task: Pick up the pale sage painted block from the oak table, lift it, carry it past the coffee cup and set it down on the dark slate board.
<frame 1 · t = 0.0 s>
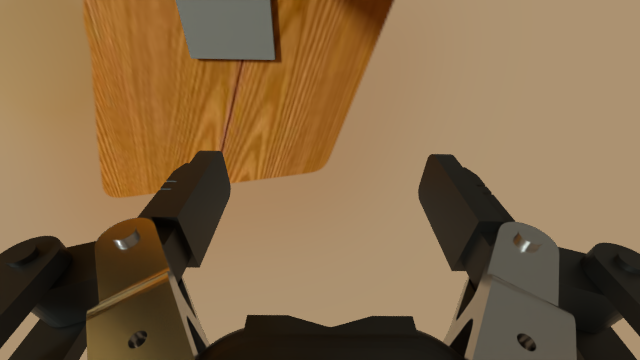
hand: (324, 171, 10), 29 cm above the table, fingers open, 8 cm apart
slate board: (225, 3, 31), on the table
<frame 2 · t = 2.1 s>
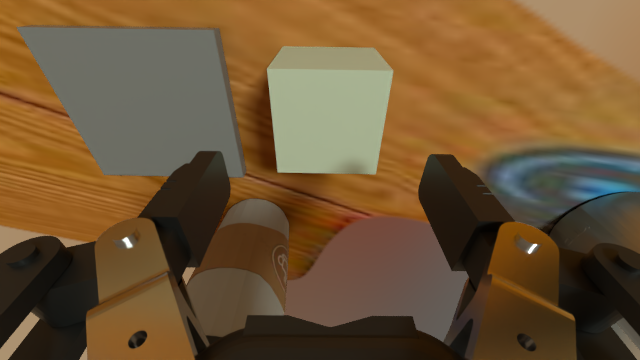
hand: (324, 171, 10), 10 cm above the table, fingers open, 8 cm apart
sage block: (327, 92, 19), on the table
coffee cup: (259, 218, 27), on the table
slate board: (156, 109, 20), on the table
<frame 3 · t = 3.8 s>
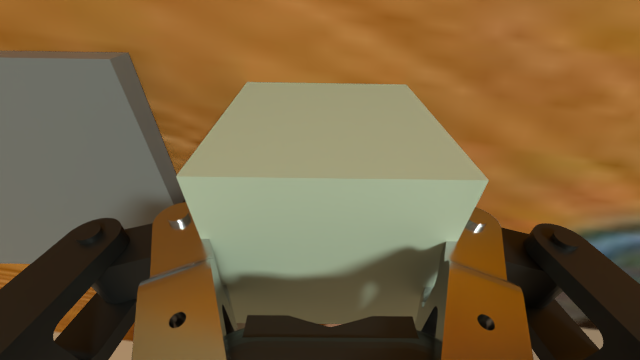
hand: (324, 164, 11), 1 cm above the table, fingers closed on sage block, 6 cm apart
sage block: (324, 152, 12), on the table, touching gripper
slate board: (51, 176, 12), on the table
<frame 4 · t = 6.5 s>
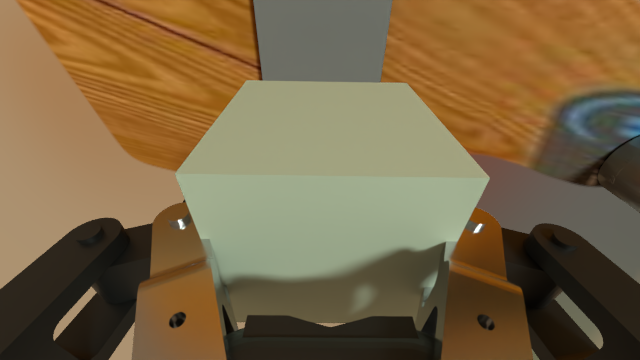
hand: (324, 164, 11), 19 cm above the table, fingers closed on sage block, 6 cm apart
sage block: (324, 150, 12), point 18 cm above the table, touching gripper
slate board: (321, 59, 26), on the table
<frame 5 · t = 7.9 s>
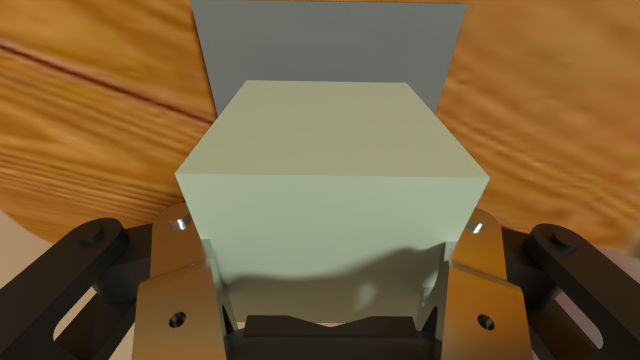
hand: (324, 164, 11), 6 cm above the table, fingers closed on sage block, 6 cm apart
sage block: (324, 150, 12), point 5 cm above the table, touching gripper
slate board: (325, 113, 15), on the table
when the fingers open (4 cm above the table, at t = 9.1 s): sage block drops 2 cm, resting on slate board.
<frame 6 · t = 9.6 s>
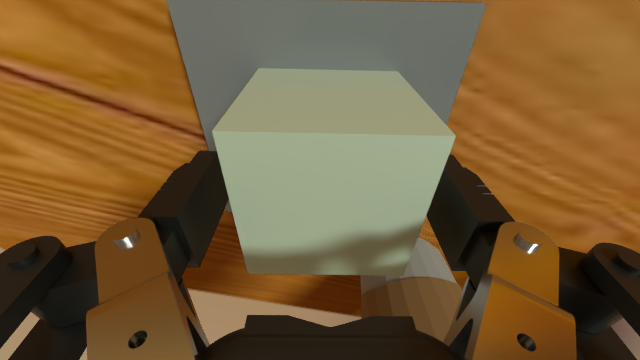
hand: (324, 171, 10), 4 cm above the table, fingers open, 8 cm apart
sage block: (326, 132, 13), point 1 cm above the table, touching slate board
coffee cup: (397, 257, 21), on the table
slate board: (323, 125, 14), on the table
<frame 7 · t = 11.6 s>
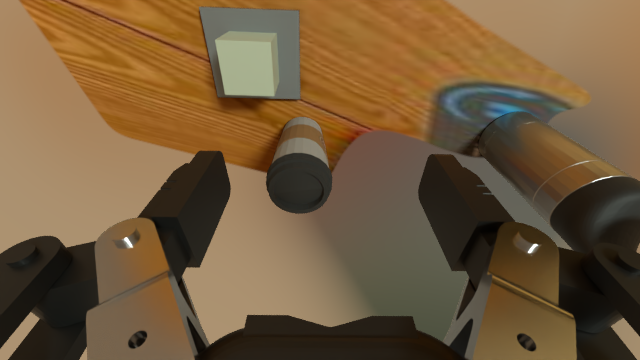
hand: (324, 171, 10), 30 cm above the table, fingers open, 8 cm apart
sage block: (255, 57, 35), point 1 cm above the table, touching slate board
coffee cup: (302, 132, 43), on the table
slate board: (256, 56, 36), on the table
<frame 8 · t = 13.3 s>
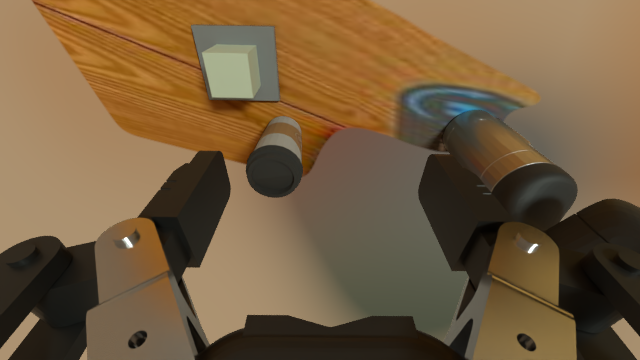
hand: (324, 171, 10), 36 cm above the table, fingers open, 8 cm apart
sage block: (239, 65, 41), point 1 cm above the table, touching slate board
coffee cup: (284, 130, 49), on the table
slate board: (240, 64, 42), on the table
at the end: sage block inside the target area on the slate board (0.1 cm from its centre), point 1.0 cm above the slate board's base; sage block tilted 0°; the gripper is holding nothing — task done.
